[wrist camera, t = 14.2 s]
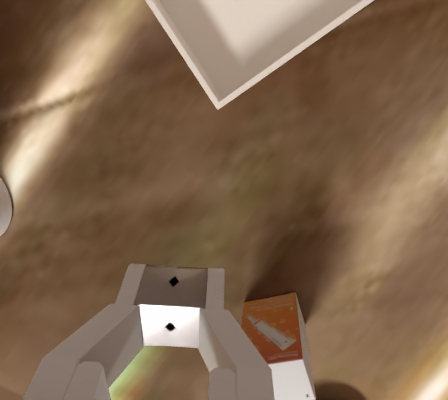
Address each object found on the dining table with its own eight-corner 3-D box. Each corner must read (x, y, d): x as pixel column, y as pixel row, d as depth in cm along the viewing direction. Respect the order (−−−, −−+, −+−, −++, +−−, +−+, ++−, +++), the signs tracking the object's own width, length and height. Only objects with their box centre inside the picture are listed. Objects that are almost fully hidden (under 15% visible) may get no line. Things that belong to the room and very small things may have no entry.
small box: (295, 290, 50) (304, 358, 38) (306, 325, 52) (317, 401, 40) (242, 301, 52) (234, 369, 40) (254, 334, 54) (250, 410, 41)
